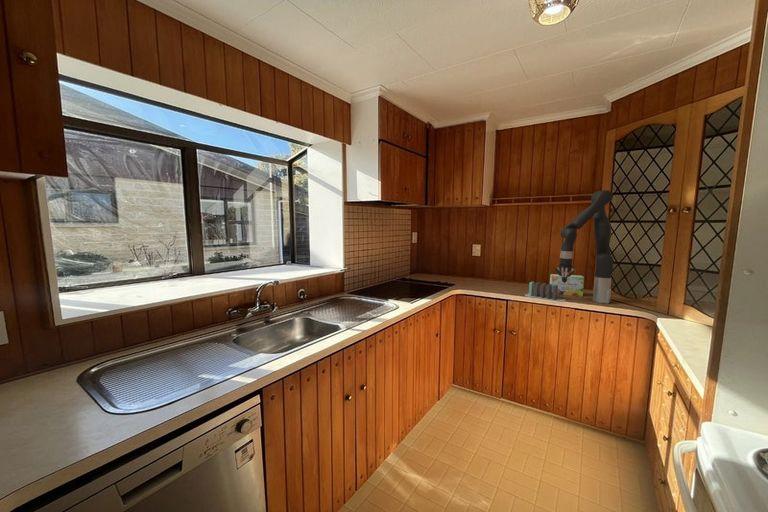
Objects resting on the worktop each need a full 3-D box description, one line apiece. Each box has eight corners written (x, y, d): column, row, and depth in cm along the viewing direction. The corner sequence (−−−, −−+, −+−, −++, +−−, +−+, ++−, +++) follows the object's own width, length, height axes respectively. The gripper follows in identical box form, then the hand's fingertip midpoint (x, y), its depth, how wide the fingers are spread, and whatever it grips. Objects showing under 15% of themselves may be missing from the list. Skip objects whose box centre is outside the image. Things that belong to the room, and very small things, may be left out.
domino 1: (533, 294, 227) (534, 281, 225) (531, 296, 223) (531, 282, 222) (531, 294, 228) (532, 281, 227) (528, 295, 224) (529, 282, 223)
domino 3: (545, 296, 221) (545, 283, 220) (542, 298, 217) (543, 284, 216) (542, 296, 222) (543, 283, 221) (540, 297, 219) (541, 284, 217)
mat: (566, 299, 213) (566, 299, 213) (562, 302, 206) (562, 302, 206) (528, 293, 232) (528, 293, 232) (523, 296, 225) (523, 295, 225)
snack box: (550, 294, 228) (551, 275, 226) (549, 293, 234) (550, 273, 232) (582, 296, 222) (584, 276, 220) (580, 294, 227) (581, 275, 226)
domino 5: (557, 298, 215) (558, 285, 214) (554, 300, 212) (555, 286, 211) (554, 298, 216) (555, 284, 215) (552, 299, 213) (553, 285, 212)
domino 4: (551, 297, 218) (551, 284, 217) (548, 299, 215) (549, 285, 213) (548, 297, 219) (549, 283, 218) (546, 298, 216) (547, 284, 215)
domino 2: (539, 295, 224) (540, 282, 223) (536, 297, 220) (537, 283, 219) (537, 295, 225) (537, 282, 224) (534, 296, 221) (535, 283, 220)
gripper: (579, 258, 204) (576, 283, 207) (557, 256, 214) (555, 280, 216) (575, 259, 199) (573, 284, 202) (553, 257, 209) (551, 281, 211)
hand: (564, 282), depth 209 cm, fingers closed
